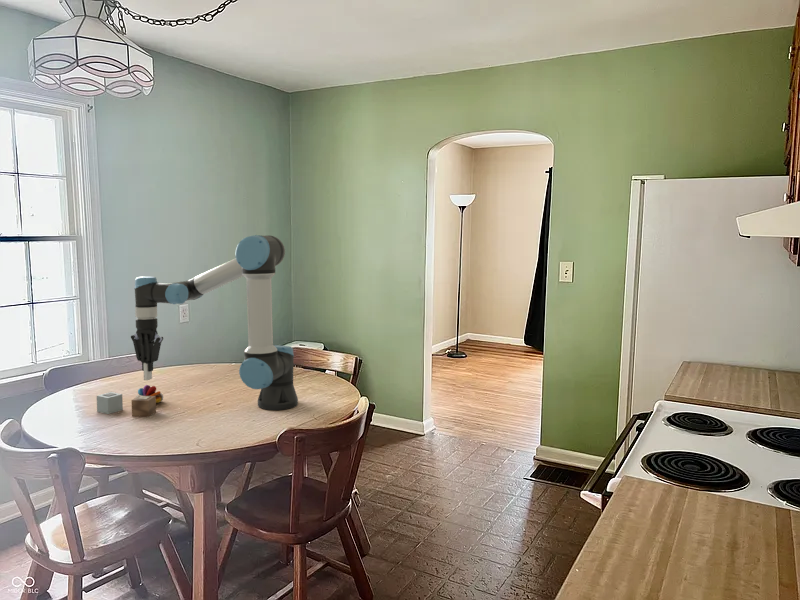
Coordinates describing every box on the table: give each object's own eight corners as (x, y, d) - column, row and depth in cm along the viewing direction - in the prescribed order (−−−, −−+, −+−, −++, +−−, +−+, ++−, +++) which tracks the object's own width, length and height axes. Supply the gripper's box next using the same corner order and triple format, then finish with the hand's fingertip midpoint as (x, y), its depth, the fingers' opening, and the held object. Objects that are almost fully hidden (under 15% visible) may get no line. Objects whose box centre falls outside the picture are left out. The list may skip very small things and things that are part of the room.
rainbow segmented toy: (153, 408, 220) (153, 389, 219) (130, 406, 222) (129, 387, 221) (166, 401, 228) (166, 383, 228) (144, 400, 230) (144, 381, 230)
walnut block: (156, 412, 215) (155, 395, 215) (148, 417, 209) (148, 400, 209) (139, 411, 216) (139, 395, 215) (131, 416, 210) (131, 399, 209)
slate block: (122, 410, 217) (122, 393, 216) (108, 414, 211) (107, 397, 211) (111, 407, 219) (111, 391, 219) (97, 411, 214) (96, 395, 213)
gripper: (167, 317, 223) (169, 378, 226) (139, 315, 227) (140, 375, 229) (154, 320, 216) (155, 383, 219) (124, 318, 220) (126, 380, 222)
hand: (147, 379), depth 224 cm, fingers closed
